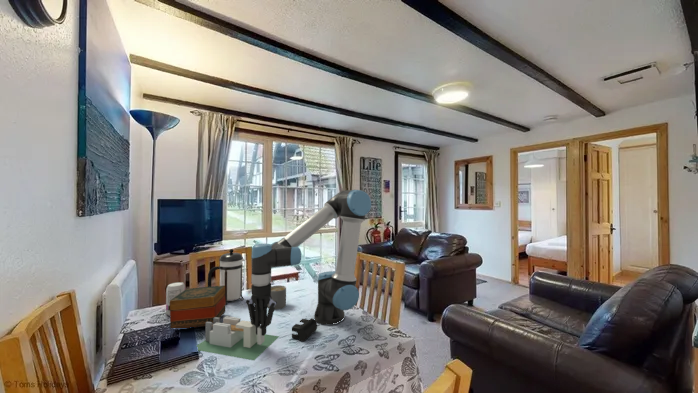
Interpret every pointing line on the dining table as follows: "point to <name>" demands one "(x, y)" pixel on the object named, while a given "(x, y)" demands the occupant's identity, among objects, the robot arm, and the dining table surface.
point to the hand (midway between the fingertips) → (260, 342)
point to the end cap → (304, 329)
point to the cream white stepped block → (248, 333)
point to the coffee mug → (278, 296)
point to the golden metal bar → (232, 327)
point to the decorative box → (197, 307)
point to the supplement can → (173, 293)
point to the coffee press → (230, 275)
